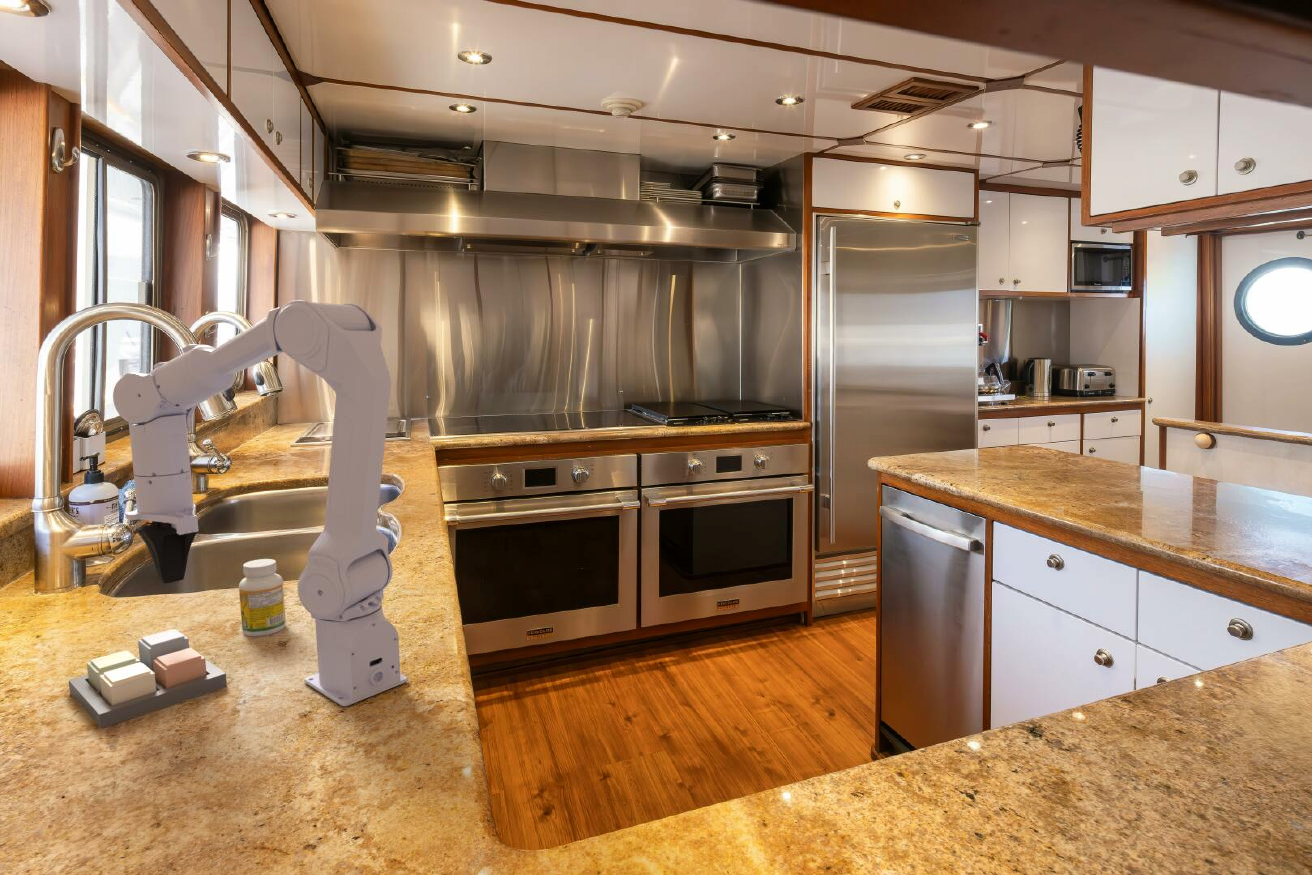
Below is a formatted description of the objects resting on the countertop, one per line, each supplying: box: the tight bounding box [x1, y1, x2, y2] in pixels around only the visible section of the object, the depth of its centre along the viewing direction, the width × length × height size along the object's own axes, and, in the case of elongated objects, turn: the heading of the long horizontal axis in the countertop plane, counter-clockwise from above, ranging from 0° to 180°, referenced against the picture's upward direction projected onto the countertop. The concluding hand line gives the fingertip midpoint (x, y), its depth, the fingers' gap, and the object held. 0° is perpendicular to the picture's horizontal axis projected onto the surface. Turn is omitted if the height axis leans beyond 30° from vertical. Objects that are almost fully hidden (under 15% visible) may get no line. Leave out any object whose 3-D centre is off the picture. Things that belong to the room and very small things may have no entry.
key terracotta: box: [153, 647, 207, 689], centre depth 83 cm, size 4×4×4 cm
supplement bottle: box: [238, 558, 287, 637], centre depth 100 cm, size 5×5×10 cm
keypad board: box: [68, 646, 228, 730], centre depth 83 cm, size 12×12×2 cm
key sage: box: [86, 649, 140, 692], centre depth 83 cm, size 4×4×4 cm
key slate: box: [137, 628, 190, 672], centre depth 86 cm, size 4×4×4 cm
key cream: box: [100, 662, 156, 706], centre depth 79 cm, size 4×4×4 cm
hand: (172, 580), depth 89 cm, fingers closed
